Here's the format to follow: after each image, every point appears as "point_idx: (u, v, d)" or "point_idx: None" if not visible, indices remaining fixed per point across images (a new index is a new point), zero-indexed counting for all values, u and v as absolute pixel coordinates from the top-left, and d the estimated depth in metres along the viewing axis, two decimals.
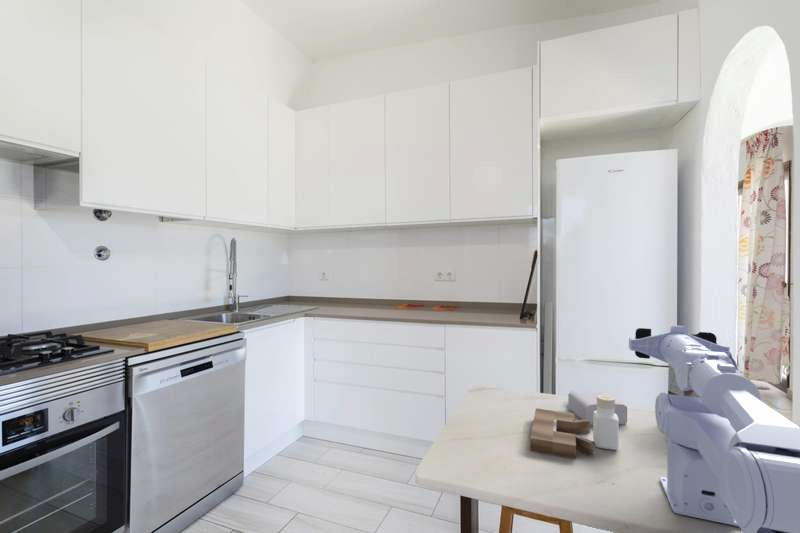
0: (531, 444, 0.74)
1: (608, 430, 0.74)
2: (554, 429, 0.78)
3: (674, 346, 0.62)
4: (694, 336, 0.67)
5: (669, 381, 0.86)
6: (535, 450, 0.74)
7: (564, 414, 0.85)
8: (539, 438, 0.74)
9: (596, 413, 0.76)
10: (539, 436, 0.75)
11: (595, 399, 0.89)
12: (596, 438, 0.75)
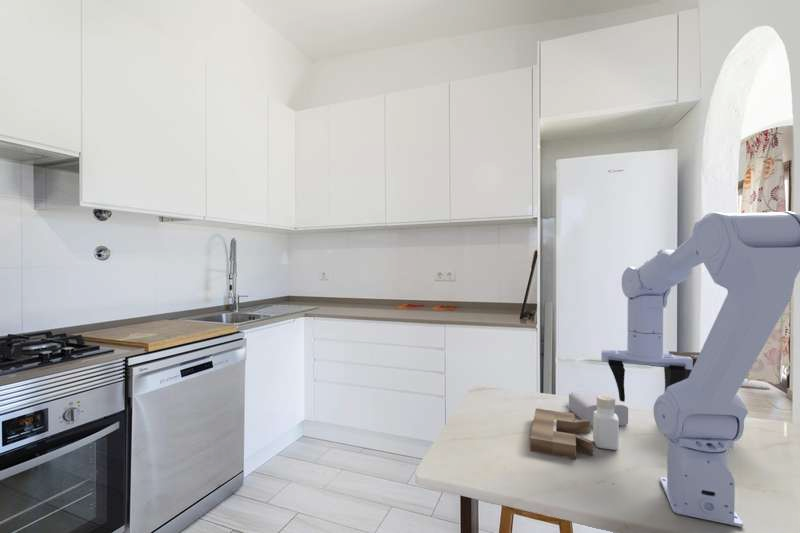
0: (531, 444, 0.74)
1: (608, 430, 0.74)
2: (554, 429, 0.78)
3: None
4: None
5: None
6: (535, 450, 0.74)
7: (564, 414, 0.85)
8: (539, 438, 0.74)
9: (596, 413, 0.76)
10: (539, 436, 0.75)
11: (596, 400, 0.89)
12: (596, 438, 0.75)
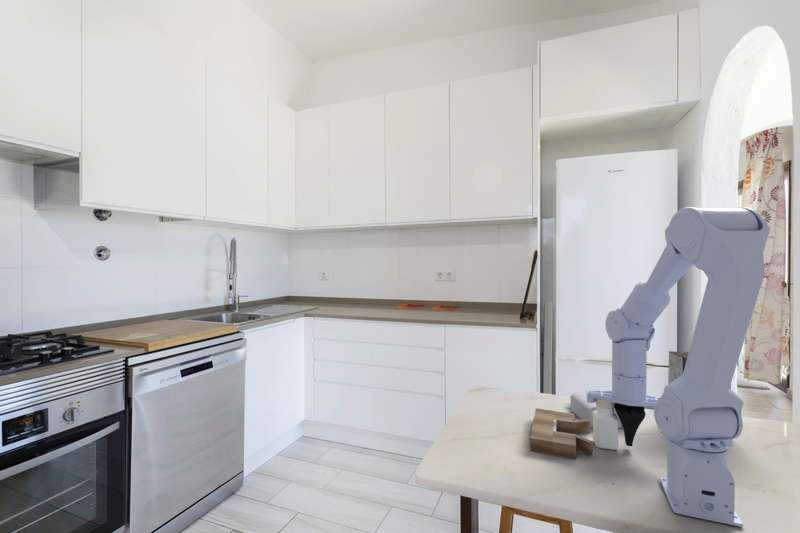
0: (531, 444, 0.74)
1: (608, 430, 0.74)
2: (554, 429, 0.78)
3: None
4: None
5: (669, 381, 0.86)
6: (535, 450, 0.74)
7: (564, 414, 0.85)
8: (539, 438, 0.74)
9: (596, 413, 0.76)
10: (539, 436, 0.75)
11: None
12: (596, 438, 0.75)
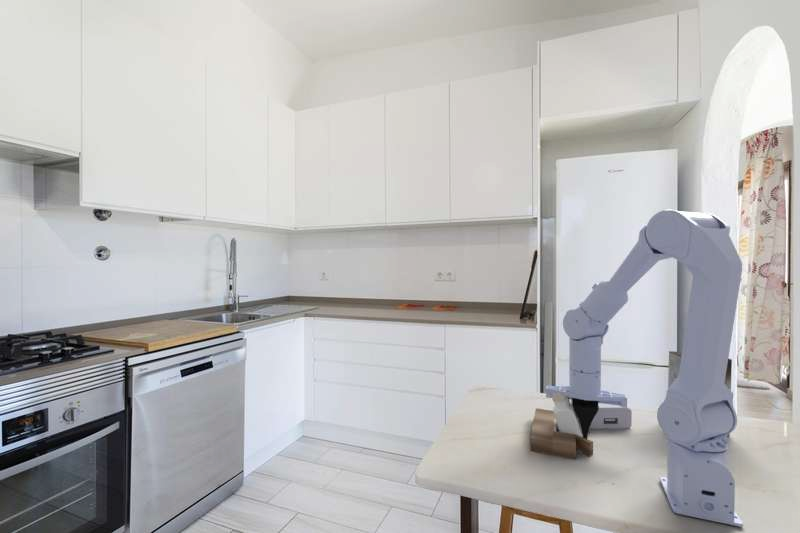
0: (531, 444, 0.74)
1: (567, 422, 0.77)
2: (554, 429, 0.78)
3: (569, 355, 0.78)
4: None
5: (669, 381, 0.86)
6: (535, 450, 0.74)
7: None
8: (539, 438, 0.74)
9: (554, 408, 0.79)
10: (539, 436, 0.75)
11: None
12: None
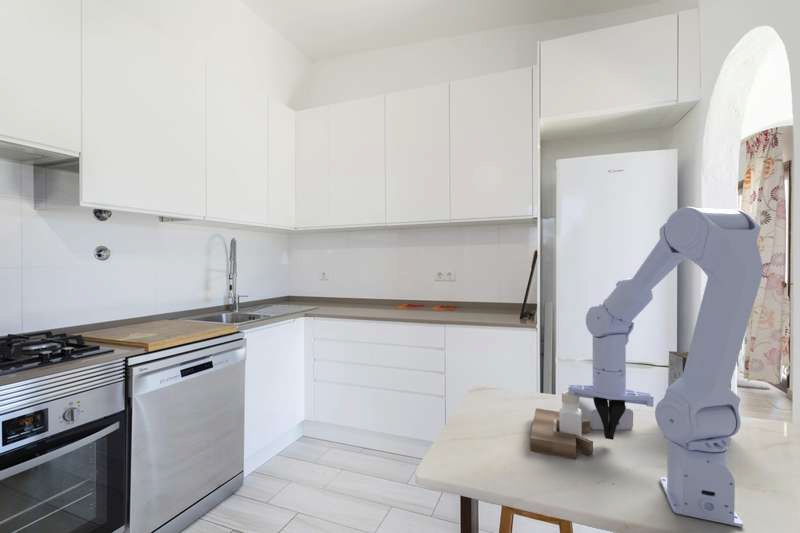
0: (531, 444, 0.74)
1: (571, 425, 0.77)
2: (554, 429, 0.78)
3: None
4: None
5: (669, 381, 0.86)
6: (535, 450, 0.74)
7: None
8: (539, 438, 0.74)
9: (561, 408, 0.79)
10: (539, 436, 0.75)
11: None
12: None
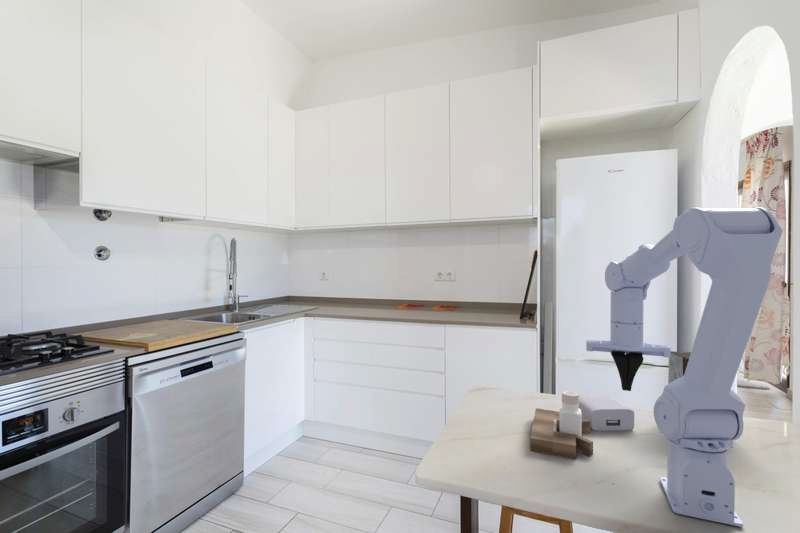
0: (531, 444, 0.74)
1: (571, 425, 0.77)
2: (554, 429, 0.78)
3: None
4: None
5: (669, 381, 0.86)
6: (535, 450, 0.74)
7: None
8: (539, 438, 0.74)
9: (561, 408, 0.79)
10: (539, 436, 0.75)
11: (601, 404, 0.86)
12: None
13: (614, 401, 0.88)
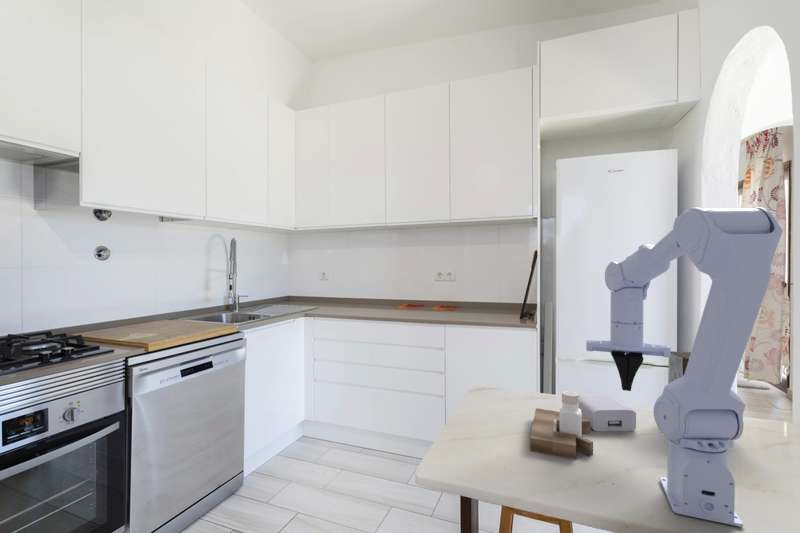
0: (531, 444, 0.74)
1: (571, 425, 0.77)
2: (554, 429, 0.78)
3: None
4: None
5: (669, 381, 0.86)
6: (535, 450, 0.74)
7: None
8: (539, 438, 0.74)
9: (561, 408, 0.79)
10: (539, 436, 0.75)
11: (602, 404, 0.86)
12: None
13: (616, 402, 0.87)
